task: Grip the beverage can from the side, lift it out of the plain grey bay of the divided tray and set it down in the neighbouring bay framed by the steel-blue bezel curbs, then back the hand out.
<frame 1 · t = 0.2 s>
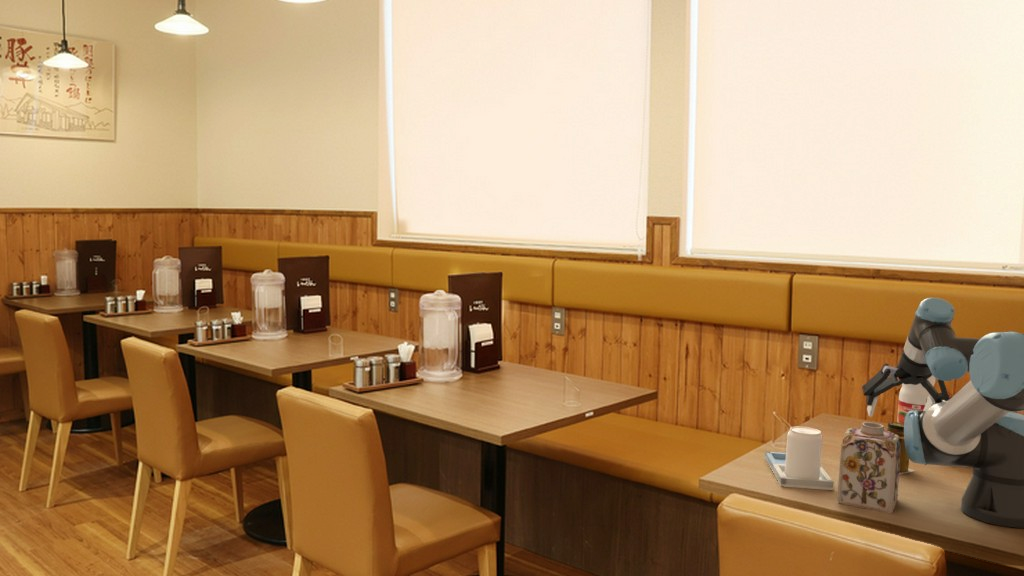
hand: (897, 414, 211), 15 cm above the table, tool tilted 35°, fingers open, 13 cm apart
divided tray: (797, 473, 209), on the table
beverage can: (801, 478, 203), resting on divided tray
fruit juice: (913, 442, 244), on the table
decorative jar: (867, 502, 189), on the table
candy bar box: (946, 459, 226), on the table
condiment: (892, 470, 215), on the table
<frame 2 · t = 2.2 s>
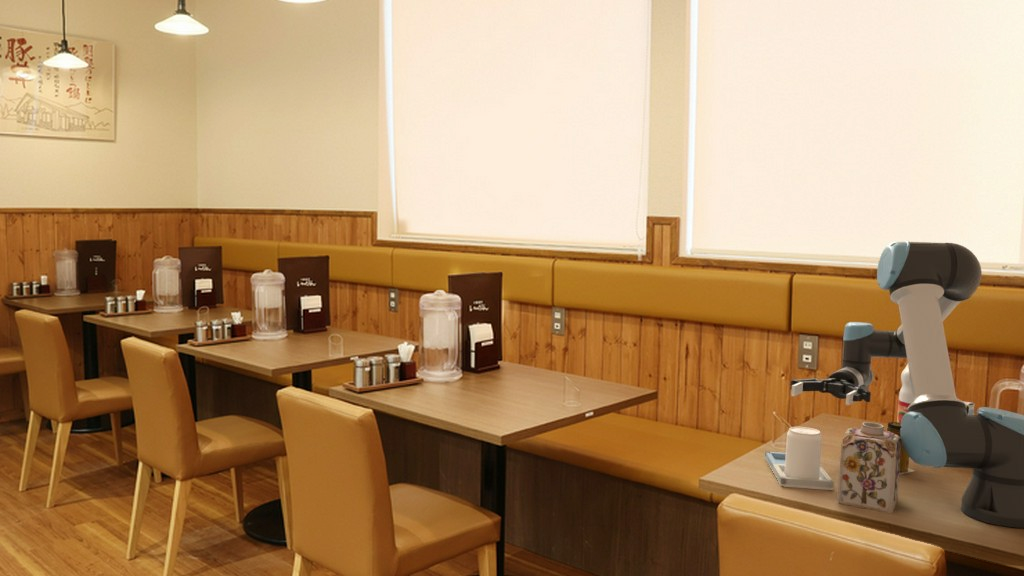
hand: (819, 395, 209), 20 cm above the table, tool horizontal, fingers open, 13 cm apart
nothing on the table moved.
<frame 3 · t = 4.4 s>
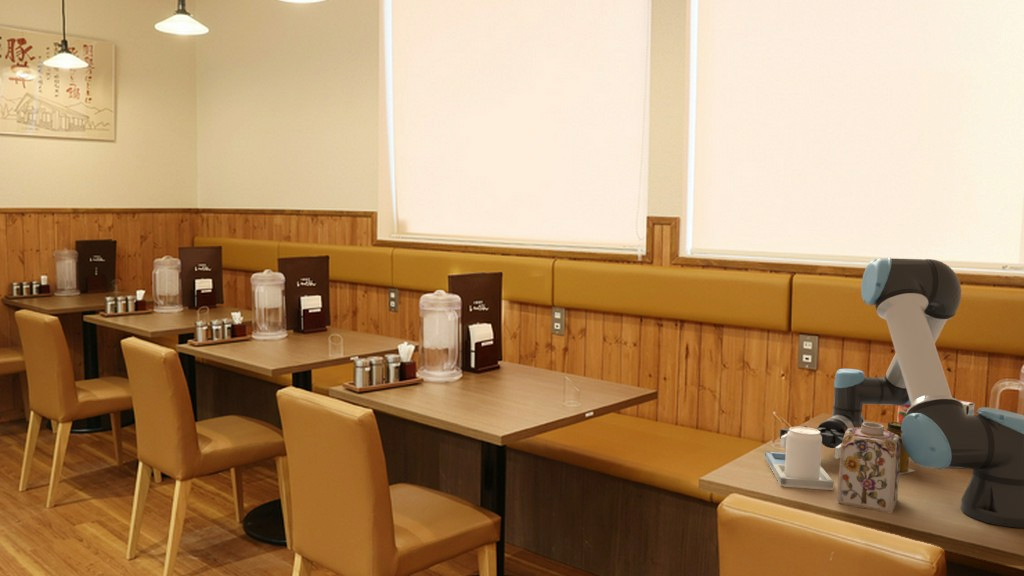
hand: (808, 447, 207), 7 cm above the table, tool horizontal, fingers open, 13 cm apart
nothing on the table moved.
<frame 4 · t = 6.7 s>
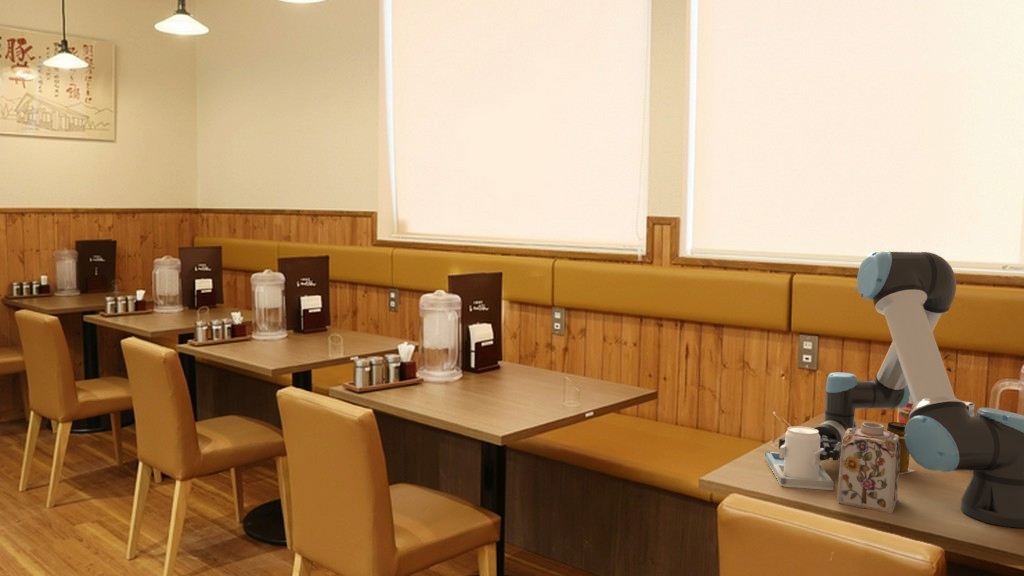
hand: (797, 456, 198), 7 cm above the table, tool horizontal, fingers closed on beverage can, 7 cm apart
beverage can: (800, 478, 203), resting on divided tray, touching gripper
everything else where it was.
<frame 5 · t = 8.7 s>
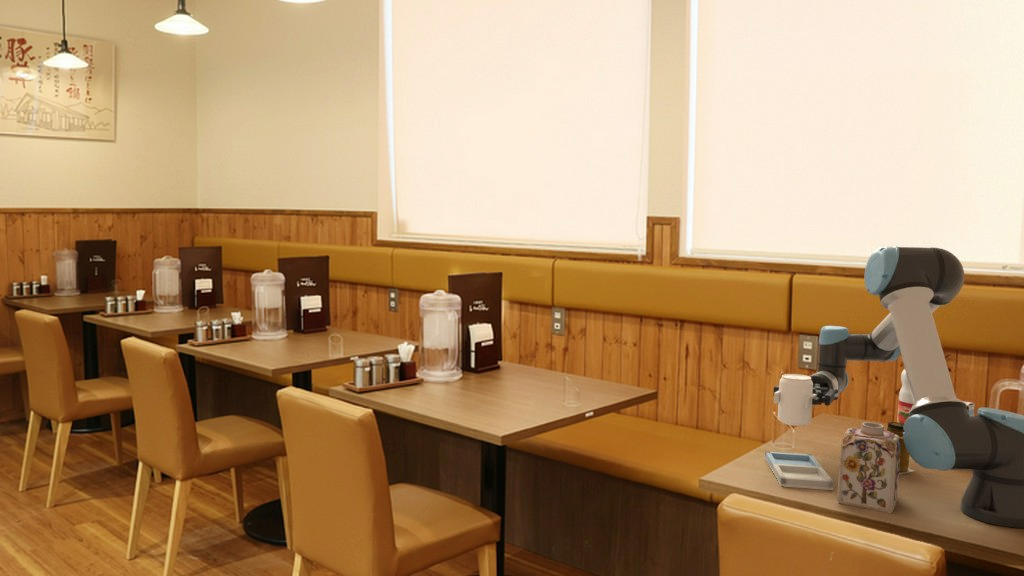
hand: (790, 400, 208), 18 cm above the table, tool horizontal, fingers closed on beverage can, 7 cm apart
beverage can: (794, 423, 213), point 12 cm above the table, touching gripper
everything else where it was.
when the fingers open (9 cm above the table, at t = 10.9 s): beverage can stays where it is, point 1 cm above the table.
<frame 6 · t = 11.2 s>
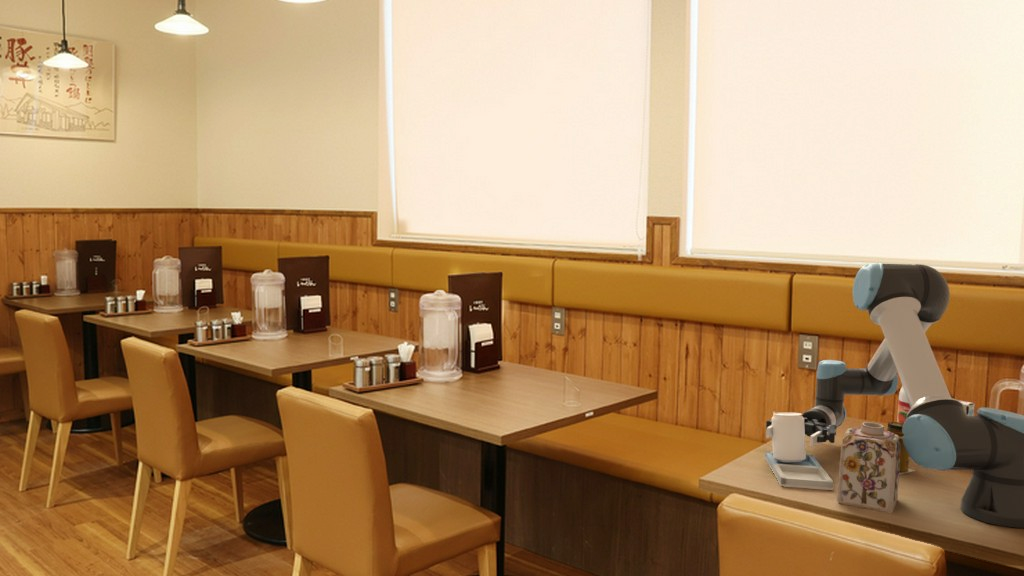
hand: (789, 437, 210), 9 cm above the table, tool horizontal, fingers open, 10 cm apart
beverage can: (789, 461, 215), point 1 cm above the table, touching gripper
everything else where it was.
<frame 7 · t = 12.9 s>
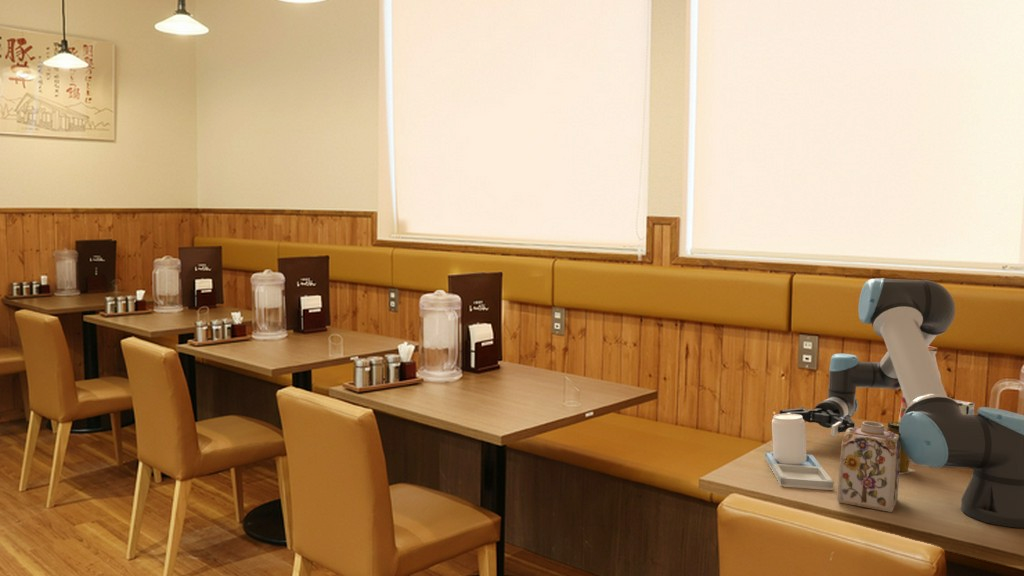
hand: (806, 426, 221), 9 cm above the table, tool horizontal, fingers open, 13 cm apart
beverage can: (790, 463, 214), point 1 cm above the table, touching divided tray
decorative jar: (867, 502, 189), on the table, touching arm
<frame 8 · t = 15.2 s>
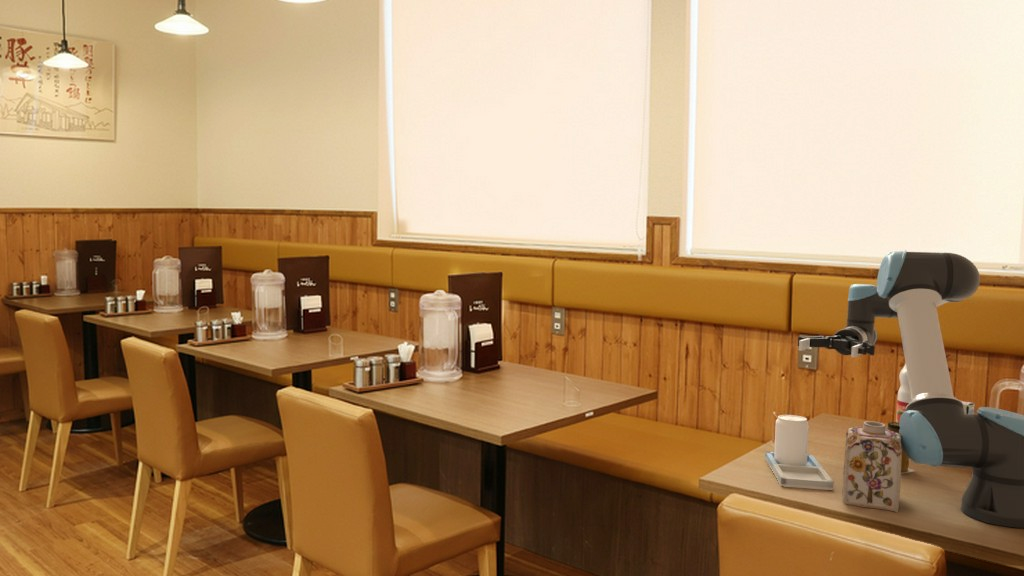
hand: (826, 348, 219), 30 cm above the table, tool horizontal, fingers open, 13 cm apart
at the end: beverage can inside the target area (0.6 cm from its centre), point 0.7 cm above the table; beverage can tilted 3°; the gripper is holding nothing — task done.
